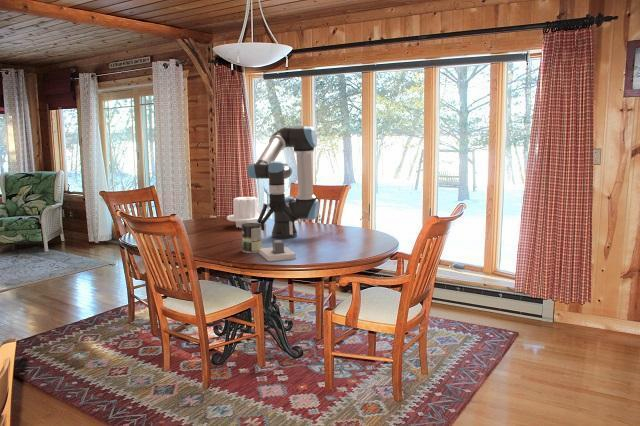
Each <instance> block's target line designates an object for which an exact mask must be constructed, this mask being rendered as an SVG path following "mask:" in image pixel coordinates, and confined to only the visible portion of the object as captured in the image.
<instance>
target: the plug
mask: <svg viewBox="0 0 640 426" xmlns="http://www.w3.org/2000/svg"><path fill="white" fill-rule="evenodd" d="M284 246H285V243H284V242H283V241H282V240H281V239H278V240H273V241H272V247H273V254H279V253H284Z"/></svg>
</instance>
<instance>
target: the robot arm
mask: <svg viewBox="0 0 640 426" xmlns="http://www.w3.org/2000/svg"><path fill="white" fill-rule="evenodd" d="M317 144H318V137H317V133H316V130H315V128H314V127H313V126H306V125H304V126H285V127H282V128H280V129H278V130H277V131H275V132H274V133H273V134H272V135H271V137H270V138H269V141H268V144H267V146H266V148H265V149H264V150H263V152H262V154H261V155H260V156H259V158H258V159H257V161H256V162H255V163H254V162H253V163H249V165H247V170H246V171H247V175H248V177H249V179H256V180H257V179H259V180H260V179H261V180H262V179H264V180H265V179H268V191H269V192H268V193H269V195H268V196H269V203H263V204H262V209H261V212H260V213H259V214H260V216H259V218H258V220H257V223H260V224H261V232H262V234H263V238H267V224H266V222H267V221H268V220H269V218H270V216H271V215H272V214H274V215H273V216H274V218H273V219H274V221H273V222H274V224H273V227H272V230H271V237H272V238H274V239H293V238H296V237H297V236H298V231H297V228H296V225H295V222H296V221H297V220H298V221H299V220H306V221H310V220H316V219H317V217H318V214H319V210H320V201H319V200H318V199H316V195H315V194H314V189H313V188H314V184H313V162H312V161H313V160H312V159H313V157H312V154H313V152H314V151H315V148H316V147H317V146H318V145H317ZM285 148H293V152H294V153H295V154H296V170H297V173H296V174H297V192H298V193H297V195H296V196H295V198H294V196H286V195H285V179H288V178H289V177H291V176H292V174H293V168H292V166H291V164H288V163H284V161H279V160H278V161H276V159H277V157H278V156H279V154H280V152H282V151H283V150H284V149H285ZM267 209H268V211H267ZM266 211H267V213H266ZM264 215H265V217H264V218H263V216H264ZM262 219H263V220H262Z"/></svg>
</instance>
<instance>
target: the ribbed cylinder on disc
mask: <svg viewBox="0 0 640 426" xmlns="http://www.w3.org/2000/svg"><path fill="white" fill-rule="evenodd" d="M232 199H233V200H232V209H233V214H229V215H227V216H226V220H228V221H229V222H235V227H236V228H238V227H239V229H242V224H245V223H258V222H257V220H258V218H259V216H260V214H261V213H260V211H259V210H260V207H259V206H260V204H259V201H260V200H259V198H258V197H255V196H237V197H234V198H232ZM265 216H266V214H264V216H263V218H264V217H265ZM262 220H263V219H262Z"/></svg>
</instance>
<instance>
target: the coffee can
mask: <svg viewBox="0 0 640 426" xmlns="http://www.w3.org/2000/svg"><path fill="white" fill-rule="evenodd" d="M241 243H242V244H241V245H242V246H241V247H242V248H241V250H242V253H245V254H255V253H256V254H257V253H259V249H260V248H263V247H262V230H261V224H260V223H258V222H257V223H245V224H242V228H241Z"/></svg>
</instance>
